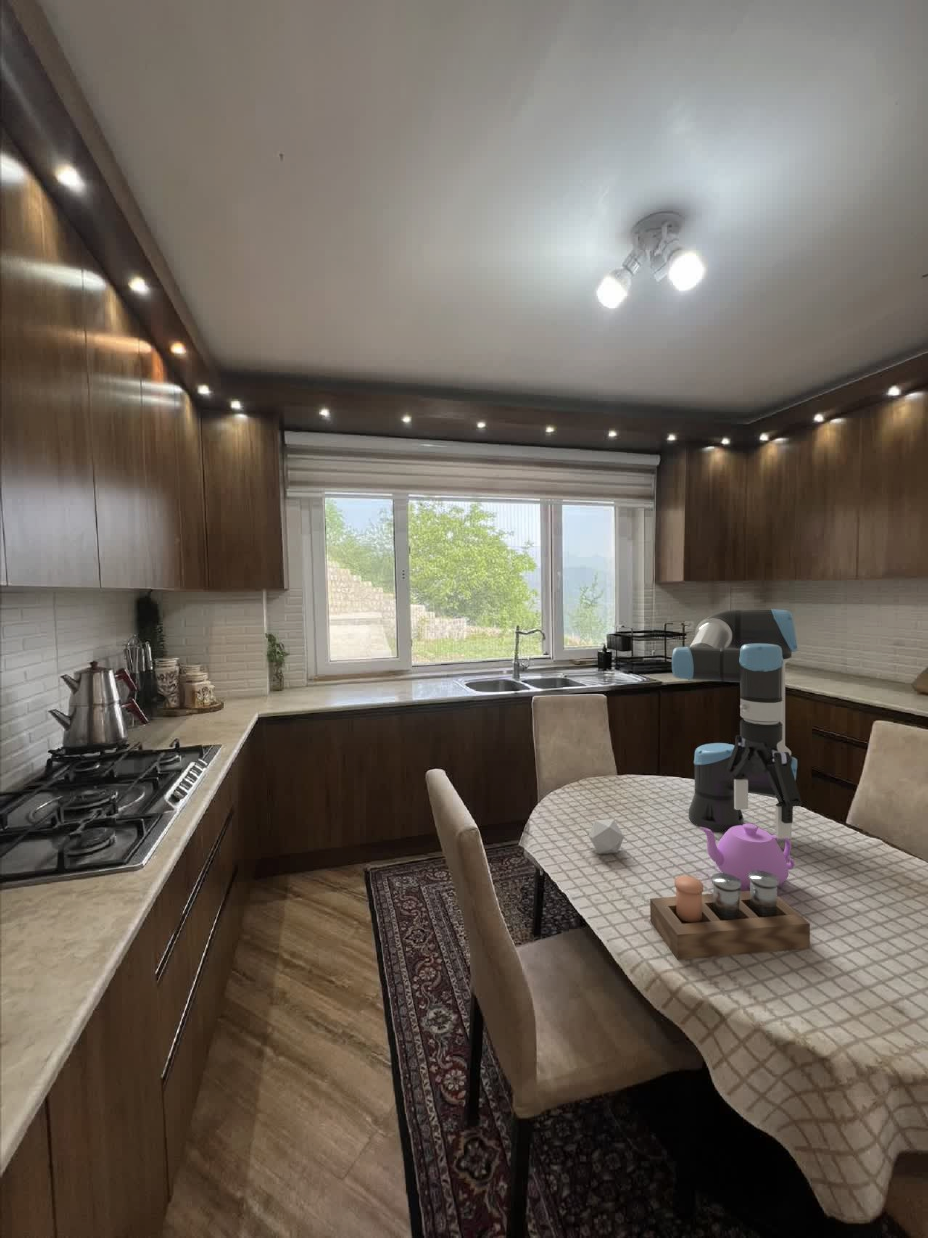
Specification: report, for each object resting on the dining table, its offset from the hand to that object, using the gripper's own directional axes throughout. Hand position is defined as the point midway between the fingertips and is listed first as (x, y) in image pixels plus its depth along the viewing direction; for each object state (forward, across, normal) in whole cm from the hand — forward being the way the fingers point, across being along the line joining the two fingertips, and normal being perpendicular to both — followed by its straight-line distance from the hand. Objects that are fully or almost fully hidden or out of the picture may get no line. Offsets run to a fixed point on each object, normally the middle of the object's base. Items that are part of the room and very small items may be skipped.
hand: (761, 822), depth 107 cm
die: (+23, -37, -20) cm, 48 cm away
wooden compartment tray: (+23, 0, -8) cm, 24 cm away
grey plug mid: (+18, 0, -8) cm, 20 cm away
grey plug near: (+18, 0, 0) cm, 18 cm away
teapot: (+23, -18, +8) cm, 30 cm away
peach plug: (+18, 0, -16) cm, 24 cm away
